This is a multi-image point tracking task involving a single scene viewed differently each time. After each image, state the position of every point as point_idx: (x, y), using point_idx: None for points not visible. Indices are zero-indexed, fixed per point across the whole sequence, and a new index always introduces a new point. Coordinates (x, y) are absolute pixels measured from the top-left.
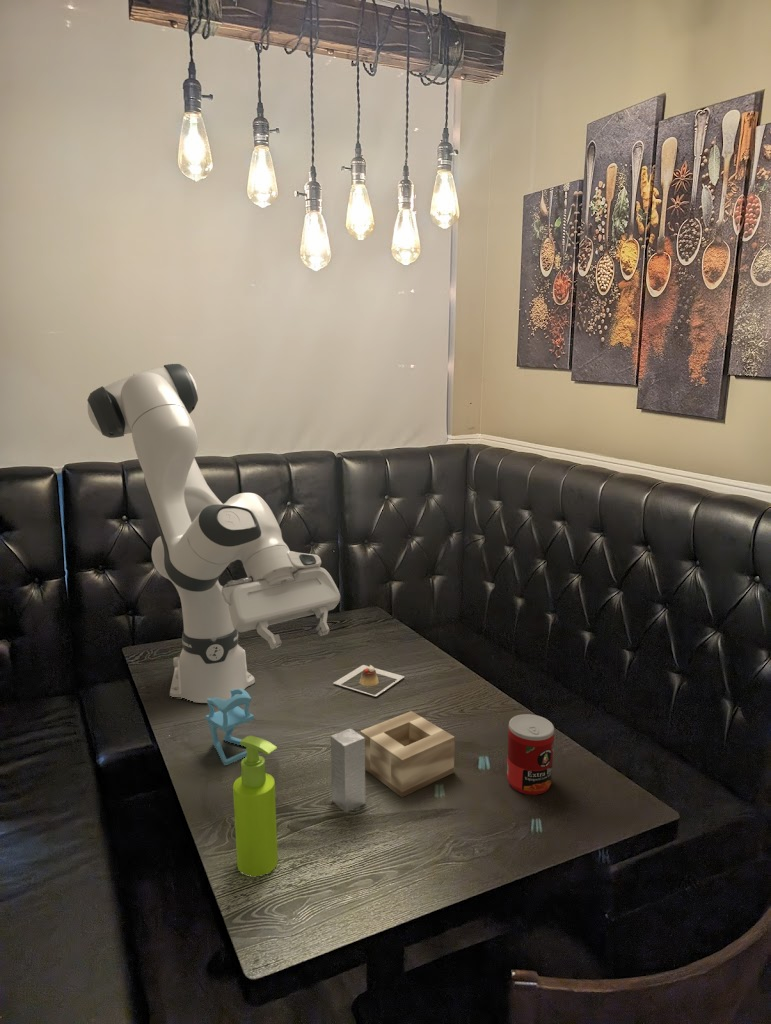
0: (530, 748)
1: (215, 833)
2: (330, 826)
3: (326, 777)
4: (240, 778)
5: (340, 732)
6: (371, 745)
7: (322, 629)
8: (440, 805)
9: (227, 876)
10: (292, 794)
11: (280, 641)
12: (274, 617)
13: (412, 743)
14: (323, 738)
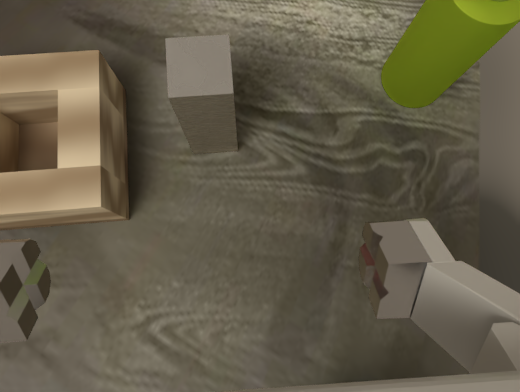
0: None
1: (451, 181)
2: (274, 92)
3: (209, 223)
4: (517, 9)
5: (203, 93)
6: (106, 164)
7: (16, 245)
8: (85, 38)
9: (460, 78)
10: (291, 209)
11: (376, 223)
12: (443, 377)
13: (34, 90)
14: (134, 369)
